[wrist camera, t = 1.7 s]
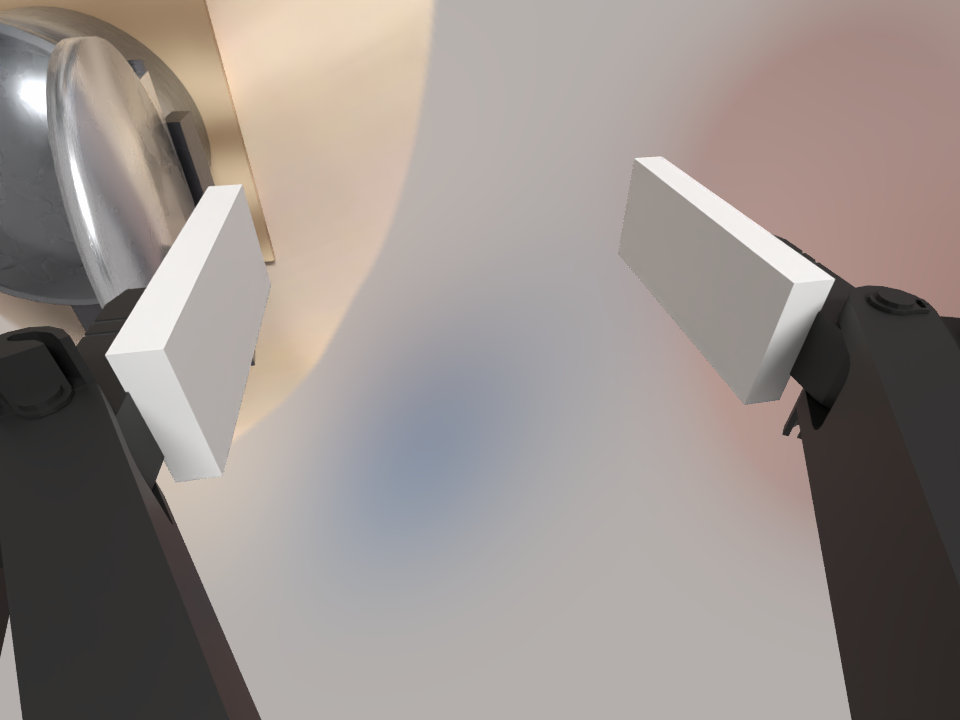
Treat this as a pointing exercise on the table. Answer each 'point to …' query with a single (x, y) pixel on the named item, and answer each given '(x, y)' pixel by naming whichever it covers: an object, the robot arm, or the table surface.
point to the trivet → (185, 77)
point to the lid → (114, 164)
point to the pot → (29, 162)
